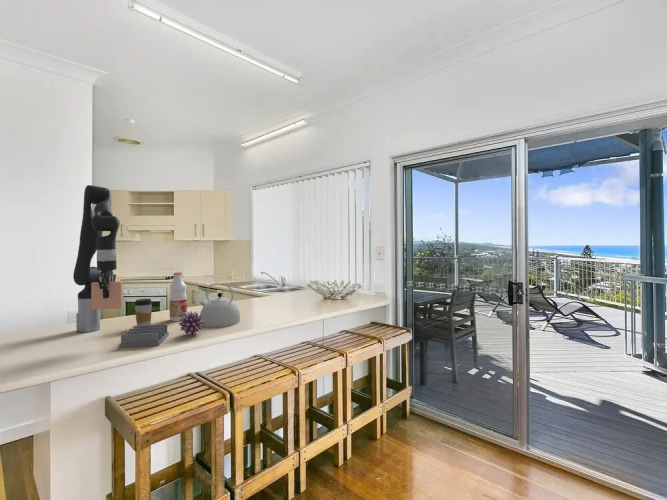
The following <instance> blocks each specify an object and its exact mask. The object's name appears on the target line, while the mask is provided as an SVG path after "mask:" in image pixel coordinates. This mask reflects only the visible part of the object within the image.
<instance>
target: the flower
mask: <svg viewBox="0 0 667 500" xmlns="http://www.w3.org/2000/svg"><path fill="white" fill-rule="evenodd" d="M184 315H185V316H181V318H182V319H180V320H181V321H180V322H179V323H178V325H179V326H180V331H181V332H182V331H183V332H184V334H186V335H188V334H189V333H190V335H192V336H193V335H194V334H195V335H196V334H197V333H199V332H200V331H199V330H202V328H203V326H201V324H202V323H204V321H202V320H200V319H201V318H202V317H201V316H202V315H200V314H199V313H198V312H197V311H194V312H193V311H192V310H191V311H187V314H186V313H185V314H184Z"/></svg>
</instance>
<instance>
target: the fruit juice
mask: <svg viewBox="0 0 667 500" xmlns="http://www.w3.org/2000/svg"><path fill="white" fill-rule="evenodd" d="M172 275H173V279H172V282H171V284H170V285H169V292H170V294H169V320H170V321H172V322H182V321H181V320H180V319H182V318H181V316H185V315H184V314H185V313H186V314H188V304H187V303H188V298H187V296H188V295H187V292H186V291H187V284H186V283H185V282H184V280H183V272H180V271H179V272H173V274H172Z"/></svg>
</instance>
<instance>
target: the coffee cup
mask: <svg viewBox="0 0 667 500" xmlns="http://www.w3.org/2000/svg"><path fill="white" fill-rule="evenodd" d="M152 305H153V301H152V299H151V298H140V299H135V302H134V308H135V320H136V321H135V322H136V326H145V325H152V324H151V323H152V322H151V321H152V308H153V307H152Z"/></svg>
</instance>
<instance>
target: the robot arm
mask: <svg viewBox="0 0 667 500" xmlns="http://www.w3.org/2000/svg"><path fill="white" fill-rule="evenodd" d="M92 205H94V208H93V207H92ZM82 207H83V209H82V220H81V227H80V234H79V242H78V243H79V245H78V251H77V257H76V262H75V266H74V268H73V273H72V274H73V276H72V278H73V281H74V283H75V285H77V286H84V288H83V289H81V290H80V291H79V292H78V293H77V312H76V314H75V319H76V320H75V321H76V322H75V323H76V324H75V325H76V332H77V331H79V332H78V333H90V332H95V331H99V330H101V312H100V310H101V309H93V310H92V298H91V283H93V282H98V283H99V287H100V289H102V290H103V298H109V284H110V282H116V278H117V274H115V273H114V271H115V270H117V269H118V268H117V266H118V263H117V251H116V238H117V234H118V231H119V228H120V224H121V223H120V218H118V217H117V216H115V215H114V214H113V211H112V194H111V190H110V189H109V188H107V187H103V186H97V185H92V184H91V185H90V184H88V185H86V186H85V188H84V194H83V206H82ZM103 232H109V233H108V235H104V236H103ZM95 254H96V266H91V264H92V260H93V257H94V255H95ZM106 282H108V283H106Z"/></svg>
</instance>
